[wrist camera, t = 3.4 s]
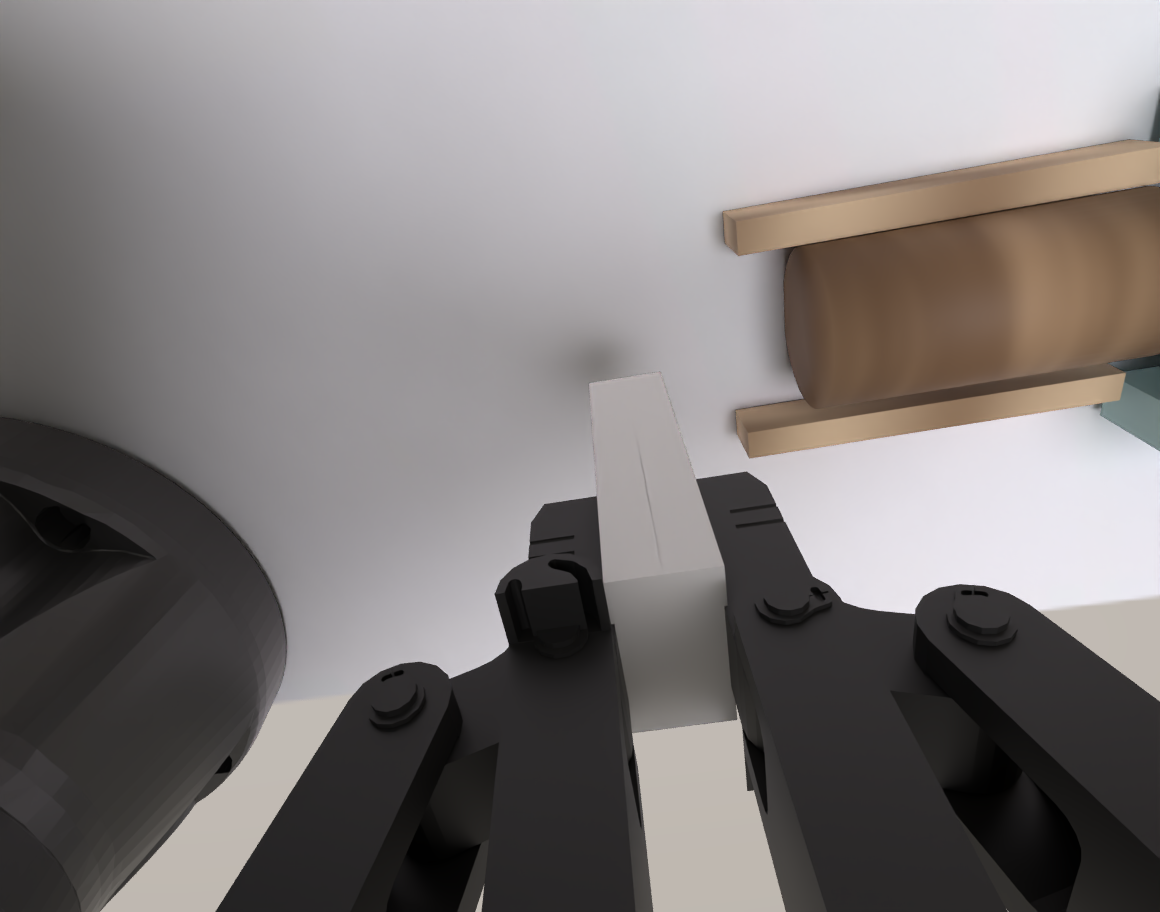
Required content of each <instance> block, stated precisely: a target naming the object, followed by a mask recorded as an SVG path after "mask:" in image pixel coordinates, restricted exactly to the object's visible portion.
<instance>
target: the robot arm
mask: <svg viewBox="0 0 1160 912" xmlns="http://www.w3.org/2000/svg"><path fill="white" fill-rule="evenodd" d="M589 392H590V406H591V420H592V434H593V448H594V462H595V476H596V490H597V496H596V497H589V498H583V499H576V500H569V501H563V502H556V503H550V504H544V505H543V507H542V508H541V510H540V511H539V512H538V514H537V515H536V517H535V518H534V519H533V521H532V522H531V532H530V545H529V555H528V558H529V560H527V561H526V562H524V563H522V564H520V565H518V566H516V567H514V568H513V569H512V570H511V571H510V572H509V573H508V574H507V575H506V576H505V577H504V578H503V579H502V580H500V583H499V585H498V587H497V590H496V592H495V597H496V601H497V604H498V608H499V611H500V615H501V618H502V622H503V625H504V629H505V632H506V636H507V639H508V643H509V647H508V648H507V650H506V651H505V652H503V653H502V654H501V655H499V656H498V657H497V658H495V659H494V660H492V661H491V662H489V663H487V664H484V665H482V666H480V667H478V668H476V669H474V670H471V671H469V672H466V673H463V674H461V675H458V676H456V677H453V678H451V679H449V677H448V675H447V674H446V673H445V672H444V671H442V670H441V669H440V668H439V667H438V666H436V665H432V664H428V663H423V662H413V663H404V664H399V665H397V666H394V667H391V668H389V669H386V670H384V671H381V672H380V673H378V674H377V675H375V676H374V677H372V678H371V679H369V680H368V681H366V682H365V683H364V684H362V686H361V687H360V688H359V689H358V690H357V691H356V693H355V694H354V695H353V696H352V697H351V698H350V700H349V701H348V703H347V704H346V706H345V707H344V709H343V711H342V712H341V714H340V715H339V717H338V718H337V720H336V722H335V723H334V725H333V726H332V728H331V730H330V731H329V733H328V734H327V736H326V737H325V739H324V741H323V742H322V744H321V746H320V747H319V748H318V750H317V752H316V753H315V755H314V756H313V758H312V760H311V761H310V763H309V764H308V766H307V768H306V769H305V771H304V772H303V774H302V776H301V777H300V779H299V780H298V782H297V784H296V785H295V787H294V788H293V790H292V791H291V793H290V794H289V796H288V798H287V799H286V801H285V802H284V804H283V806H282V807H281V809H280V810H279V812H278V814H277V815H276V817H275V818H274V820H273V821H272V823H271V825H270V826H269V828H268V829H267V831H266V832H265V834H264V836H263V837H262V839H261V841H260V842H259V844H258V845H257V847H256V848H255V850H254V852H253V853H252V855H251V856H250V858H249V859H248V861H247V863H246V864H245V866H244V867H243V869H242V870H241V872H240V874H239V875H238V877H237V879H236V880H235V882H234V883H233V885H232V886H231V888H230V890H229V891H228V893H227V894H226V896H225V898H224V899H223V901H222V902H221V904H220V905H219V907H218V909H217V910H216V912H475V910H476V908H477V904H478V901H479V898H480V895H481V892H482V889H483V886H484V894H483V904H482V912H653V906H652V896H651V887H650V877H649V869H648V859H647V849H646V840H645V831H644V821H643V812H642V803H641V793H640V784H639V774H638V766H637V761H636V756H635V750H634V745H633V738H632V733H637V732H645V731H653V730H661V729H668V728H676V727H684V726H691V725H700V724H708V723H715V722H723V721H731V720H737V712H736V705H737V709H738V712H739V716H740V720H741V723H742V728H743V741H744V754H745V766H746V777H747V778H746V779H747V791H751V790H754V792H755V796H756V799H757V803H758V807H759V811H760V815H761V818H762V822H763V826H764V830H765V833H766V837H767V841H768V845H769V849H770V853H771V856H772V860H773V864H774V868H775V872H776V875H777V879H778V883H779V887H780V890H781V894H782V898H783V902H784V905H785V910H786V912H1008V911H1009V912H1160V702H1159V701H1158V700H1157V699H1156V698H1154V697H1153V696H1151V695H1150V694H1149V693H1147V692H1146V691H1145V690H1143V689H1142V688H1141V687H1139V686H1138V685H1137V684H1135V683H1134V682H1133V681H1131V680H1130V679H1129V678H1127V677H1126V676H1125V675H1123V674H1122V673H1121V672H1119V671H1118V670H1116V669H1115V668H1114V667H1113V666H1111V665H1110V664H1109V663H1107V662H1106V661H1105V660H1103V659H1102V658H1100V657H1099V656H1098V655H1096V654H1095V653H1094V652H1092V651H1091V650H1090V649H1088V648H1087V647H1086V646H1084V645H1083V644H1082V643H1080V642H1079V641H1077V640H1076V639H1075V638H1074V637H1072V636H1071V635H1070V634H1068V633H1067V632H1066V631H1064V630H1063V629H1062V628H1060V627H1059V626H1058V625H1056V624H1055V623H1053V622H1052V621H1051V620H1049V619H1048V618H1047V617H1045V616H1044V615H1043V614H1041V613H1040V612H1039V611H1037V610H1036V609H1035V608H1033V607H1032V606H1031V605H1029V604H1027V603H1025V602H1024V601H1022V600H1020V599H1018V598H1016V597H1015V596H1013V595H1011V594H1009V593H1006V592H1003V591H999V590H996V589H993V588H989V587H986V586H976V585H963V584H959V585H953V586H947V587H941V588H938V589H936V590H934V591H932V592H930V593H928V594H927V595H925V596H923V598H922V599H921V601H920V602H919V604H918V606H917V607H916V610H915V614H906V613H895V612H884V611H876V610H870V609H864V608H859V607H856V606H853V605H850V604H847V603H844V602H842V600H841V598H840V597H839V596H838V595H837V594H836V592H835V591H834V590H833V589H832V588H831V587H830V586H829V585H827V584H826V583H824V582H822V581H820V580H818V579H816V578H814V577H813V576H812V574H811V572H810V570H809V568H808V566H807V564H806V562H805V560H804V558H803V556H802V554H801V552H800V550H799V548H798V546H797V544H796V542H795V540H794V538H793V536H792V534H791V533H790V531H789V529H788V527H787V525H786V523H785V522H784V520H783V517H782V515H781V513H780V511H779V509H778V507H776V503H775V501H774V499H773V497H772V495H771V493H770V491H769V489H768V487H767V485H765V484H764V483H763V482H761V481H760V480H758V479H757V478H755V477H754V476H752V475H751V474H749V473H748V472H741V473H735V474H728V475H722V476H715V477H708V478H702V479H696V478H695V475H694V472H693V469H692V466H691V463H690V460H689V457H688V454H687V451H686V448H685V445H684V442H683V439H682V436H681V433H680V430H679V427H678V424H677V421H676V418H675V415H674V411H673V408H672V405H671V402H670V399H669V396H668V393H667V390H666V387H665V384H664V381H663V378H662V375H661V372H654V373H648V374H642V375H636V376H629V377H623V378H617V379H611V380H605V381H598V382H592V383H589ZM285 662H286V638H285V631H284V625H283V621H282V617H281V613H280V610H279V607H278V604H277V601H276V599H275V597H274V595H273V592H272V590H271V588H270V586H269V584H268V582H267V580H266V578H265V577H264V575H263V573H262V571H261V570H260V568H259V567H258V565H257V564H256V562H255V561H254V559H253V558H252V556H251V555H250V554H249V552H248V551H247V550H246V548H245V547H244V546H243V545H242V544H241V542H240V541H239V540H238V539H237V538H236V537H235V535H234V534H233V533H232V532H231V531H230V530H229V529H228V528H227V527H226V526H225V525H224V524H223V523H222V522H221V521H220V520H219V519H218V518H217V517H216V516H215V515H214V514H213V513H211V512H210V511H209V510H208V509H207V508H206V507H205V506H203V505H202V504H201V503H200V502H199V501H197V500H196V499H195V498H194V497H192V496H191V495H190V494H188V493H187V492H186V491H184V490H183V489H181V488H180V487H179V486H177V485H176V484H174V483H173V482H171V481H170V480H168V479H167V478H165V477H164V476H162V475H160V474H159V473H157V472H156V471H154V470H152V469H150V468H149V467H147V466H145V465H143V464H141V463H140V462H138V461H136V460H134V459H132V458H130V457H128V456H126V455H124V454H122V453H120V452H118V451H115V450H113V449H111V448H108V447H106V446H104V445H102V444H99V443H97V442H94V441H91V440H89V439H86V438H83V437H80V436H78V435H75V434H71V433H68V432H65V431H62V430H59V429H55V428H51V427H47V426H43V425H39V424H35V423H30V422H25V421H20V420H15V419H8V418H1V417H0V912H100V911H101V910H102V909H103V907H104V906H105V905H106V904H107V903H108V902H109V901H110V900H111V899H112V898H113V897H114V896H115V895H116V894H117V893H118V892H119V891H120V890H121V889H122V888H123V887H124V885H125V884H126V883H127V882H128V881H129V880H130V879H131V878H132V877H133V876H134V875H135V874H136V873H137V872H138V871H139V870H140V869H141V868H142V866H143V865H144V864H145V863H146V862H147V861H148V860H149V859H150V858H151V857H152V856H153V855H154V853H155V852H156V851H157V850H158V849H159V848H160V847H161V846H162V845H163V844H164V842H165V841H166V840H167V839H168V838H169V837H170V836H171V835H172V833H173V832H174V831H175V830H176V829H177V827H178V826H179V825H180V824H181V823H182V821H183V820H184V819H185V817H186V816H187V815H188V814H189V812H190V811H191V809H192V808H193V807H194V805H195V804H196V803H197V802H199V801H200V800H202V799H203V798H205V797H206V796H208V795H209V794H210V793H211V792H213V791H214V790H215V789H216V788H217V787H218V786H219V785H220V784H222V783H223V782H224V781H225V779H226V778H227V777H228V776H229V775H230V774H231V773H232V772H233V771H234V770H235V769H236V767H237V766H238V765H239V764H240V762H241V761H242V760H243V758H244V757H245V755H246V754H247V752H248V751H249V750H250V748H251V746H252V744H253V743H254V741H255V739H256V737H257V735H258V733H259V731H260V729H261V727H262V724H263V722H264V720H265V718H266V716H267V714H268V712H269V710H270V708H271V706H272V703H273V701H274V699H275V697H276V695H277V692H278V690H279V688H280V685H281V681H282V678H283V674H284V669H285ZM484 883H485V884H484ZM1005 907H1006V908H1005ZM1006 909H1007V910H1008V911H1007V910H1006Z"/></svg>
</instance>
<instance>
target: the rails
mask: <svg viewBox="0 0 1160 912" xmlns="http://www.w3.org/2000/svg"><path fill="white" fill-rule="evenodd" d="M1156 183H1160V142H1152V141H1141V140H1130V139H1129V140H1124V141H1118V142H1112V143H1107V144H1101V145H1095V146H1090V147H1084V148H1079V149H1073V150H1067V151H1062V152H1056V153H1050V154H1045V155H1039V156H1033V157H1028V158H1022V159H1016V160H1011V161H1005V162H1000V163H994V164H988V165H983V166H977V167H971V168H966V169H960V170H954V171H949V172H943V173H937V174H932V175H926V176H921V177H915V178H909V179H904V180H898V181H892V182H887V183H881V184H875V185H870V186H864V187H858V188H853V189H847V190H842V191H836V192H830V193H825V194H819V195H813V196H808V197H802V198H796V199H791V200H785V201H779V202H774V203H768V204H763V205H757V206H751V207H746V208H740V209H734V210H729V211H723V222H724V238H725V244H726V245H727V246H728V247H729V248H730V249H731V250H732V251H733V252H734V253H735V254H737V255H738V256H741V255H747V254H752V253H758V252H764V251H770V250H776V249H781V248H787V247H793V246H799V245H804V244H810V243H816V242H822V241H827V240H833V239H839V238H845V237H851V236H856V235H862V234H868V233H874V232H879V231H885V230H891V229H897V228H902V227H908V226H914V225H920V224H926V223H931V222H937V221H943V220H949V219H954V218H960V217H966V216H972V215H977V214H983V213H989V212H995V211H1000V210H1006V209H1012V208H1018V207H1024V206H1029V205H1035V204H1041V203H1047V202H1052V201H1058V200H1064V199H1070V198H1075V197H1081V196H1087V195H1093V194H1099V193H1104V192H1110V191H1116V190H1122V189H1127V188H1133V187H1139V186H1145V185H1150V184H1156ZM1125 375H1126V373H1125V372H1123V371H1121V370H1119V369H1117V368H1115V367H1113V366H1111V365H1109V364H1107V363H1104V364H1097V365H1091V366H1085V367H1079V368H1072V369H1066V370H1060V371H1054V372H1047V373H1041V374H1035V375H1029V376H1022V377H1016V378H1010V379H1004V380H997V381H991V382H985V383H979V384H972V385H966V386H960V387H954V388H947V389H941V390H935V391H929V392H922V393H916V394H910V395H904V396H897V397H891V398H885V399H879V400H873V401H866V402H860V403H854V404H848V405H841V406H835V407H829V408H823V409H814V408H812V407H811V406H810V405H809V404H808V403H807V402H806V400H805V399H802V400H796V401H790V402H783V403H777V404H771V405H765V406H758V407H752V408H746V409H740V410H736V425H737V435H738V437H739V439H740V441H741V443H742V445H743V447H744V449H745V451H746V453H747V455H748V457H749V458H755V457H761V456H768V455H774V454H780V453H787V452H793V451H799V450H806V449H812V448H819V447H825V446H831V445H838V444H844V443H850V442H857V441H863V440H870V439H876V438H882V437H889V436H895V435H901V434H908V433H914V432H921V431H927V430H933V429H940V428H946V427H952V426H959V425H965V424H972V423H978V422H984V421H991V420H997V419H1003V418H1010V417H1016V416H1023V415H1029V414H1035V413H1042V412H1048V411H1054V410H1061V409H1067V408H1074V407H1080V406H1086V405H1093V404H1099V403H1105V402H1112V401H1118V400H1120V397H1121V393H1122V388H1123V384H1124V380H1125Z"/></svg>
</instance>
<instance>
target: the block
mask: <svg viewBox="0 0 1160 912" xmlns="http://www.w3.org/2000/svg"><path fill="white" fill-rule="evenodd" d="M1159 142H1160V139H1159ZM1125 373H1126V375H1125V380H1124V384H1123V388H1122V393H1121V397H1120V400H1118V401H1112V402H1105V403H1103V404H1102V409H1101V413H1100V415H1101V416H1102V417H1104V418H1106V419H1107V420H1109V421H1111V422H1112V423H1114V424H1116V425H1117V426H1119V427H1121V428H1122V429H1124V430H1126V431H1127V432H1129V433H1131V434H1132V435H1134V436H1136V437H1137V438H1139V439H1141V440H1142V441H1144V442H1145V443H1147V444H1149V445H1150V446H1152V447H1154V448H1155V449H1157V450H1159V451H1160V366H1156V367H1150V368H1144V369H1138V370H1131V371H1125Z"/></svg>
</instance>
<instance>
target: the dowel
mask: <svg viewBox="0 0 1160 912" xmlns="http://www.w3.org/2000/svg"><path fill="white" fill-rule="evenodd" d="M784 317H785V336H786V343H787V349H788V354H789V358H790V363H791V367H792V370H793V373H794V377H795V379H796V382H797V385H798V387H799V390H800V392H801V394H802V396H803V397H804V399H805V400H806V402H807V403H808V404H809V405H810V406H811V407H812V408H814V409H823V408H829V407H835V406H841V405H848V404H854V403H860V402H866V401H873V400H879V399H885V398H891V397H897V396H904V395H910V394H916V393H922V392H929V391H935V390H941V389H947V388H954V387H960V386H966V385H972V384H979V383H985V382H991V381H997V380H1004V379H1010V378H1016V377H1022V376H1029V375H1035V374H1041V373H1047V372H1054V371H1060V370H1066V369H1072V368H1079V367H1085V366H1091V365H1097V364H1104V363H1110V362H1116V361H1122V360H1129V359H1135V358H1141V357H1147V356H1153V355H1157V354H1160V187H1156V186H1144V187H1138V188H1132V189H1126V190H1121V191H1115V192H1109V193H1103V194H1098V195H1092V196H1086V197H1080V198H1075V199H1069V200H1063V201H1057V202H1052V203H1046V204H1040V205H1034V206H1028V207H1023V208H1017V209H1011V210H1005V211H1000V212H994V213H988V214H982V215H977V216H971V217H965V218H959V219H953V220H948V221H942V222H936V223H930V224H925V225H919V226H913V227H907V228H902V229H896V230H890V231H884V232H879V233H873V234H867V235H861V236H855V237H850V238H844V239H838V240H832V241H827V242H821V243H815V244H809V245H804V246H799V247H796V248H795V249H794V250H793V251H792V252H791V254H790V256H789V259H788V262H787V266H786V270H785V276H784Z"/></svg>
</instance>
